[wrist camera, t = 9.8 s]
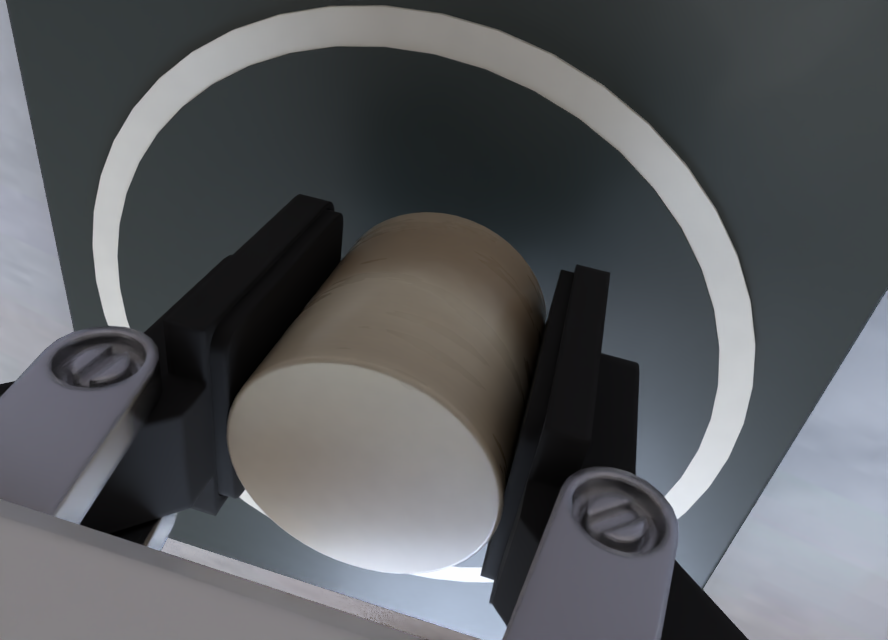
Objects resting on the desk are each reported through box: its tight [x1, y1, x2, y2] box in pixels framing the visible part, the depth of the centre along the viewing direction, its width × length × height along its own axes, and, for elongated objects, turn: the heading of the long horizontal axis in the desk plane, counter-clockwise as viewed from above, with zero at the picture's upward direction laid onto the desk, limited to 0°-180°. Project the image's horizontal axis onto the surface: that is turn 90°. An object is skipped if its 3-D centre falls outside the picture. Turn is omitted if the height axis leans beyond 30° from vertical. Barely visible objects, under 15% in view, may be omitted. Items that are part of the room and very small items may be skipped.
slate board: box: [6, 0, 888, 640], centre depth 15 cm, size 18×16×1 cm
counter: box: [226, 212, 547, 574], centre depth 10 cm, size 4×4×4 cm
